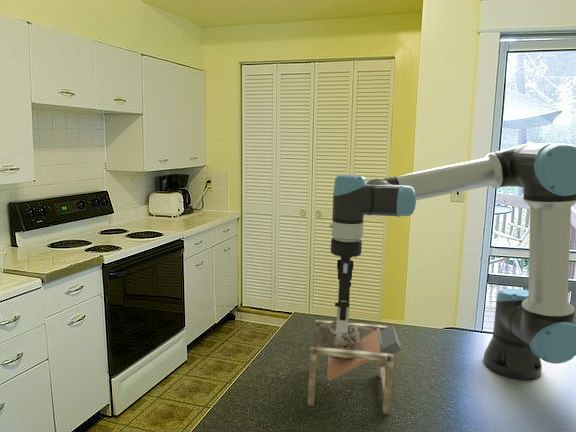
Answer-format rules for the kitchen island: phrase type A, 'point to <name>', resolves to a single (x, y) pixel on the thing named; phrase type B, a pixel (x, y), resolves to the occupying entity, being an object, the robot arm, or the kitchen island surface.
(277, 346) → the kitchen island surface
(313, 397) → the frame
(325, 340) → the rock
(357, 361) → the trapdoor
